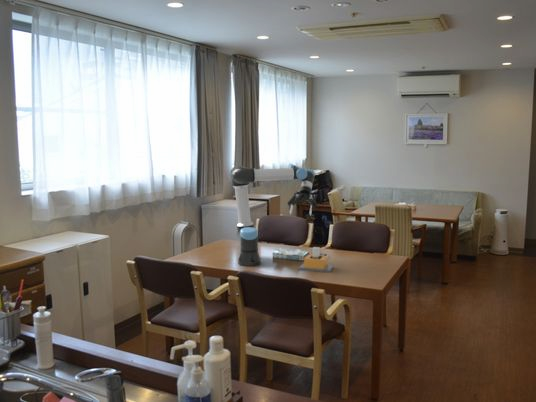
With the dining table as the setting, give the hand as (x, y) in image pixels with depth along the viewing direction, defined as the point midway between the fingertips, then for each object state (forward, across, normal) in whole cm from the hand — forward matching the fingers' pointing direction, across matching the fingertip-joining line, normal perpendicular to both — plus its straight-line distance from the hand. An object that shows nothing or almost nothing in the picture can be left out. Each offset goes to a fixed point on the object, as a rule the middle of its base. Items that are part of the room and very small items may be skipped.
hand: (300, 214), depth 332 cm
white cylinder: (+31, -14, -13) cm, 36 cm away
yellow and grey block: (+32, -14, -14) cm, 38 cm away
